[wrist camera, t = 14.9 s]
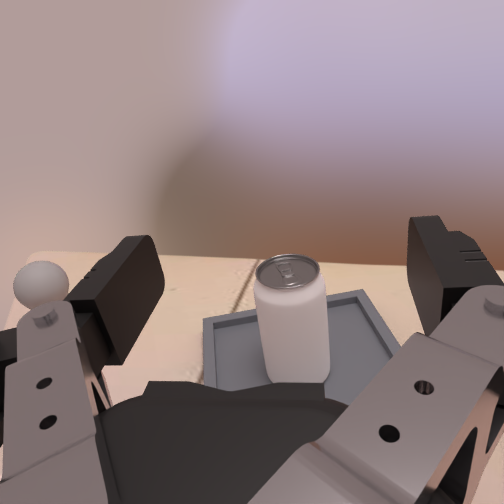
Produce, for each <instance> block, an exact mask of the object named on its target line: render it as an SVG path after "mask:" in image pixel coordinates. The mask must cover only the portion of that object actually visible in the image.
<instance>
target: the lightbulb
mask: <svg viewBox="0 0 504 504" xmlns="http://www.w3.org/2000/svg"><path fill="white" fill-rule="evenodd" d="M13 289H14V294H15V296H16V298H17V299H18V301H19V302H20V303H21V304H23V305H24V306H26V307H27V308H29V309H31V310H32V309H34V308H36V307H38V306H40V305H42V304H45V303H48V302H52V301H60V300H61V301H63V300H64V298H65V297H66V296H67V295H68V289H69V280H68V277H67V274H66V273H65V271H64V270H63V269H62V268H61V267H60V266H58V265H57V264H55V263H52V262H49V261H36V262H32V263H29V264H27V265H26V266H24V267H23V268H22V269H21V270H20V271H19V272H18V273H17V275H16V277H15V280H14V283H13Z"/></svg>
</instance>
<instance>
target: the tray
mask: <svg viewBox="0 0 504 504" xmlns="http://www.w3.org/2000/svg"><path fill="white" fill-rule="evenodd" d="M326 300H327V316H328V333H329V351H330V372H329V374H328V376H327V378H326V379H325V381H324V382H323V383H324V389H325V398H329V399H333V400H336V401H339V402H342V403H344V404H347V405H350V404H351V403H352V402H353V401H354V400H355V399H356V397H357V396H358V395H359V394H360V393H361V392H362V391H363V390H364V388H365V387H366V386H367V385H368V384H369V383H370V382H371V381H372V379H373V378H374V377H375V376H376V375H377V374H378V373H379V371H380V370H381V369H382V368H383V367H384V366H385V365H386V364H387V362H388V361H389V360H390V359H391V358H392V357H393V356H394V355H395V353H396V352H397V351H398V350H399V349H400V348H401V346H400V345H399V343H398V342H397V340H396V339H395V337H394V336H393V334H392V332H391V331H390V329H389V328H388V326H387V325H386V323H385V322H384V320H383V319H382V317H381V316H380V314H379V313H378V311H377V310H376V308H375V307H374V305H373V304H372V302H371V301H370V299H369V298H368V296H367V295H366V293H365V291H364V290H363V289H361V290H355V291H350V292H344V293H339V294H334V295H328V296H326ZM203 359H204V385H205V386H209V387H213V388H217V389H221V390H225V391H236V390H242V389H247V388H252V387H257V386H262V385H267V384H272V383H273V382H272V381H271V380H270V379H269V377H268V374H267V371H266V365H265V360H264V354H263V348H262V342H261V336H260V330H259V323H258V317H257V311H256V309H252V310H247V311H241V312H236V313H231V314H225V315H220V316H214V317H209V318H204V319H203Z"/></svg>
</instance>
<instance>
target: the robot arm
mask: <svg viewBox="0 0 504 504" xmlns="http://www.w3.org/2000/svg"><path fill="white" fill-rule="evenodd" d="M407 250H408V251H407V277H408V283H409V287H410V290H411V293H412V296H413V299H414V302H415V305H416V308H417V311H418V314H419V317H420V320H421V324H422V327H423V330H424V333H425V335H424V334H422V333H419V332H416V333H414V334H413V335H412V336H411V337H410V338H409V339H408V340H407V341H406V342H405V343H404V344H403V346H402V347H401V348H400V349H399V350H398V351H397V352H396V353H395V355H394V356H393V357H392V358H391V359H390V360H389V361H388V362H387V364H386V365H385V366H384V367H383V368H382V369H381V370H380V371H379V373H378V374H377V375H376V376H375V377H374V378H373V379H372V381H371V382H370V383H369V384H368V385H367V386H366V387H365V388H364V390H363V391H362V392H361V393H360V394H359V395H358V396H357V397H356V399H355V400H354V401H353V402H352V403H351V404H350V405H347V404H344V403H342V402H339V401H336V400H333V399H329V398H325V389H324V383H295V382H277V383H272V384H267V385H262V386H257V387H252V388H247V389H242V390H236V391H225V390H221V389H217V388H213V387H209V386H205V385H201V384H197V383H193V382H187V381H149V382H148V384H147V386H146V389H145V391H144V393H143V395H141V396H137V397H134V398H131V399H128V400H125V401H123V402H120V403H118V404H116V405H114V406H113V403H112V400H111V397H110V393H109V390H108V387H107V383H106V380H105V377H104V375H103V373H102V371H101V370H102V369H103V367H104V365H123V363H124V361H125V359H126V358H127V356H128V354H129V352H130V351H131V349H132V347H133V345H134V344H135V342H136V340H137V338H138V336H139V335H140V333H141V331H142V329H143V328H144V326H145V324H146V322H147V321H148V319H149V317H150V315H151V314H152V312H153V310H154V308H155V306H156V305H157V303H158V301H159V299H160V298H161V296H162V294H163V291H164V286H165V280H164V274H163V271H162V268H161V264H160V261H159V258H158V255H157V252H156V248H155V245H154V242H153V240H152V238H151V237H150V236H149V235H141V236H127V237H125V238H124V239H123V240H122V241H121V242H120V243H119V245H118V246H117V247H116V248H115V249H114V250H113V251H112V252H111V253H109V254H108V255H106V256H105V257H103V258H102V259H100V260H99V261H98V262H97V263H96V264H95V265H94V266H93V267H92V269H91V271H89V272H88V273H87V274H86V275H85V276H84V279H82V280H81V281H80V282H79V283H78V284H77V285H76V286H75V287H74V289H73V290H72V291H71V292H70V293H69V294H68V295H67V296H66V297H65V298H64V300H63V301H61V300H60V301H52V302H48V303H45V304H42V305H40V306H38V307H36V308H34V309H32V310H30V311H29V312H28V313H26V314H25V315H24V316H23V317H22V318H21V319H20V320H19V322H18V324H17V328H12V329H8V330H4V331H0V447H1V446H2V444H3V474H2V479H1V481H0V504H471V502H472V500H473V497H474V495H475V493H476V490H477V487H478V484H479V481H480V479H481V476H482V473H483V471H484V469H485V467H486V465H487V463H488V461H489V459H490V457H491V455H492V453H493V451H494V449H495V447H496V446H497V444H498V442H499V440H500V438H501V436H502V434H503V432H504V283H503V282H502V280H501V279H500V277H499V276H498V274H497V273H496V271H495V270H494V268H493V267H492V265H491V264H490V263H489V261H487V258H486V257H485V255H484V254H483V252H481V249H480V248H479V247H478V245H477V243H476V242H475V240H474V239H472V238H471V237H469V236H467V235H465V234H464V233H462V232H460V231H451V232H448V231H447V229H446V227H445V225H444V224H443V222H442V220H441V219H440V217H439V216H422V217H411V218H410V220H409V227H408V248H407Z"/></svg>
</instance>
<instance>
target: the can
mask: <svg viewBox="0 0 504 504" xmlns="http://www.w3.org/2000/svg"><path fill="white" fill-rule="evenodd" d="M319 270H320V268H319V265H318V263H317V262H316V261H315V260H314V259H312V258H310V257H308V256H305V255H300V254H283V255H278V256H274V257H272V258H269V259H267V260H265V261H264V262H262V263H261V264H260V265H259V266H258V267H257V269H256V273H255V274H256V280H255V283H254V298H255V305H256V311H257V317H258V323H259V330H260V336H261V342H262V348H263V354H264V360H265V365H266V371H267V374H268V377H269V379H270V380H271V381H272V382H273V383H277V382H295V383H323V382H324V381H325V379H326V378H327V376H328V374H329V372H330V351H329V333H328V316H327V300H326V287H325V280H324V278H323V276H322V274H321V273H320V271H319Z"/></svg>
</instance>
